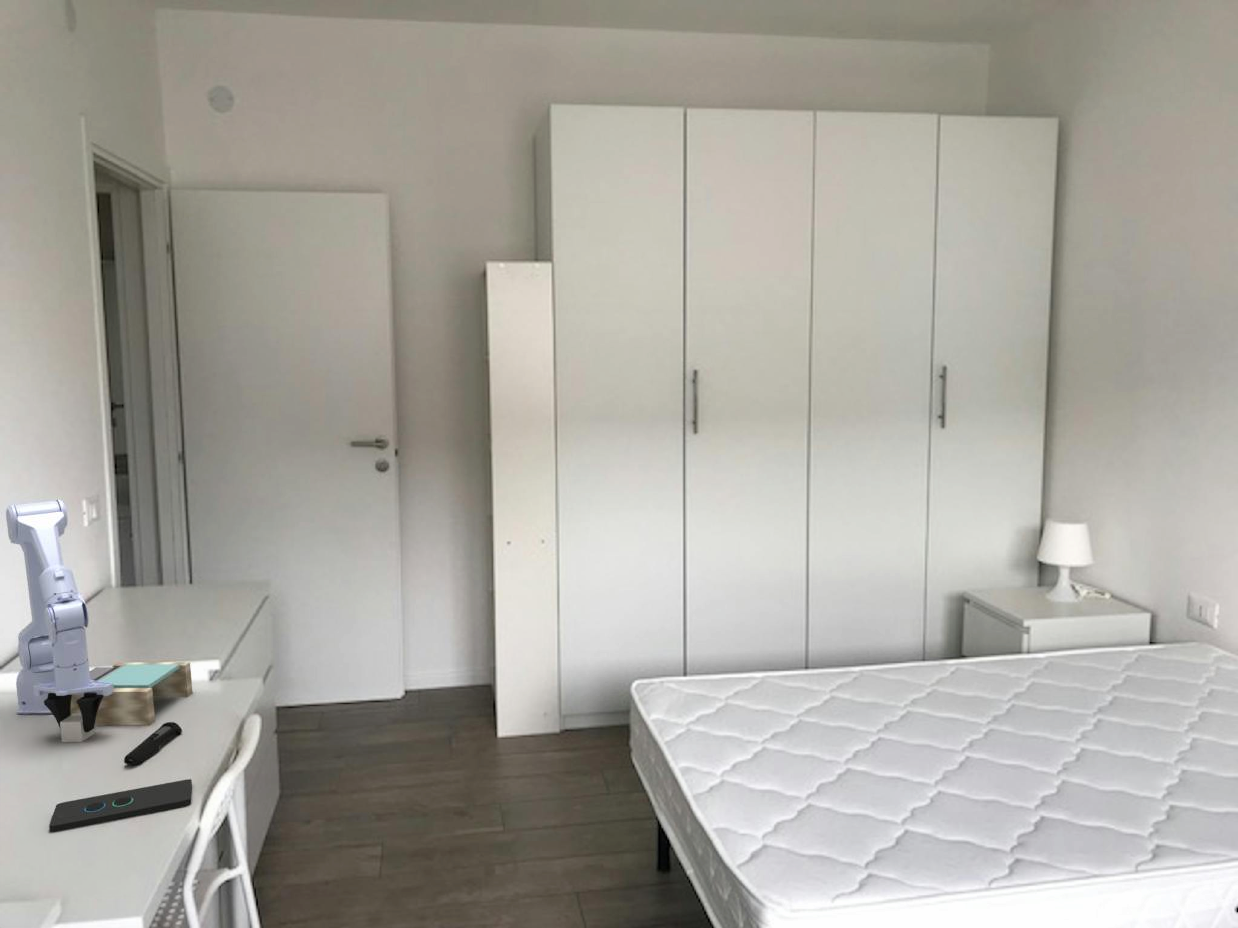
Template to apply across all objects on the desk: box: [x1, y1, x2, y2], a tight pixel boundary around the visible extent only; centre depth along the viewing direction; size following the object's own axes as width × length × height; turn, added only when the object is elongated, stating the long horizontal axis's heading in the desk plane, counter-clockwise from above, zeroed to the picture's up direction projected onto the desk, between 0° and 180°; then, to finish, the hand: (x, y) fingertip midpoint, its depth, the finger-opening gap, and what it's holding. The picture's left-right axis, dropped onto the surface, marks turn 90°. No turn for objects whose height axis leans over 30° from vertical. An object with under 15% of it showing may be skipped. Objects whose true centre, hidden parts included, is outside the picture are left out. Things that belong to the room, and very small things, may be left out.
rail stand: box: [71, 661, 193, 726], centre depth 190 cm, size 17×17×7 cm
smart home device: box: [48, 778, 193, 833], centre depth 149 cm, size 8×2×20 cm
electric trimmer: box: [123, 721, 183, 765], centre depth 170 cm, size 4×16×3 cm, turn 177°
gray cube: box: [59, 714, 96, 743], centre depth 176 cm, size 4×4×4 cm
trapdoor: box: [89, 664, 180, 688], centre depth 190 cm, size 18×12×4 cm, turn 88°
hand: (77, 730), depth 177 cm, fingers open, 4 cm apart
